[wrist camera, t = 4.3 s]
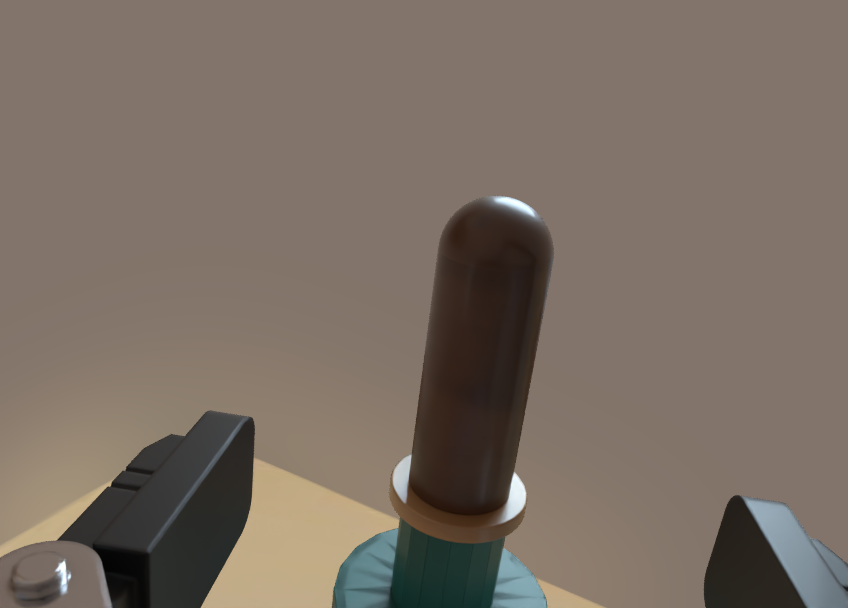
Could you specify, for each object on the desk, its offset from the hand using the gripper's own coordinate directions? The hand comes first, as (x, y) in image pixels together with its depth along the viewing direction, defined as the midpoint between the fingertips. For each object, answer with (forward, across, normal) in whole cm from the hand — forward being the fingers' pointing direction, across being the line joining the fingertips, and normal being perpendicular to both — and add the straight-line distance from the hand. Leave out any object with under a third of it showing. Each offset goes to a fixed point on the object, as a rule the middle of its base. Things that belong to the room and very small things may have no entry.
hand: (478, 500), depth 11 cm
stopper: (+10, 0, +9) cm, 14 cm away
